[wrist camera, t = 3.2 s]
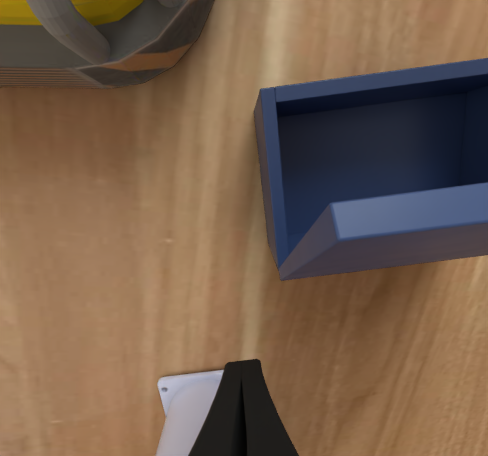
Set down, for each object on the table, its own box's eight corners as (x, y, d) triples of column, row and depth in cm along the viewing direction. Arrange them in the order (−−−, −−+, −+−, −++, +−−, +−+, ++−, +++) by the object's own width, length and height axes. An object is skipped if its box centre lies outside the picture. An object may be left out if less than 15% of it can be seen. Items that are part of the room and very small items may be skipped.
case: (253, 111, 17) (259, 88, 12) (468, 82, 17) (567, 46, 12) (268, 243, 19) (278, 271, 14) (456, 219, 19) (535, 239, 14)
